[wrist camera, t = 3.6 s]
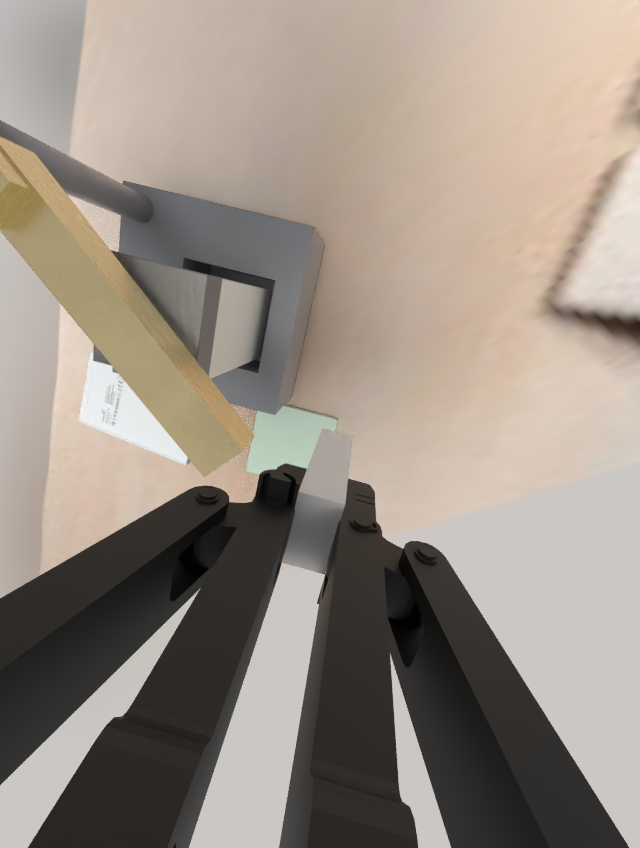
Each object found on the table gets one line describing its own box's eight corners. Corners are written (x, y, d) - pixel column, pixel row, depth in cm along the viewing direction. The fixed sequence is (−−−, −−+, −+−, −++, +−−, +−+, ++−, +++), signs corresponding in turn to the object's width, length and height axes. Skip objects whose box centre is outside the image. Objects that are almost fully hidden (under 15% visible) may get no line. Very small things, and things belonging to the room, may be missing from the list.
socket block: (172, 207, 33) (-99, 61, 14) (324, 244, 32) (264, 145, 13) (158, 361, 37) (-63, 413, 18) (291, 396, 36) (210, 489, 17)
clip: (-61, 133, 16) (-172, 86, 13) (-14, 68, 15) (-121, 0, 12) (211, 466, 19) (179, 498, 16) (264, 430, 18) (241, 456, 15)
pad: (260, 398, 37) (259, 399, 36) (338, 418, 36) (337, 420, 36) (247, 468, 39) (245, 471, 39) (319, 488, 39) (319, 491, 38)
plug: (217, 276, 32) (97, 247, 18) (279, 291, 32) (208, 274, 17) (208, 340, 34) (93, 360, 19) (267, 355, 33) (193, 387, 19)
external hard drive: (192, 460, 41) (87, 418, 41) (211, 393, 38) (100, 348, 38) (185, 466, 39) (76, 422, 39) (205, 397, 36) (89, 350, 36)
